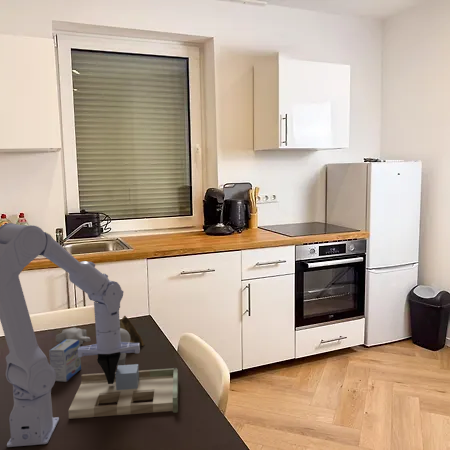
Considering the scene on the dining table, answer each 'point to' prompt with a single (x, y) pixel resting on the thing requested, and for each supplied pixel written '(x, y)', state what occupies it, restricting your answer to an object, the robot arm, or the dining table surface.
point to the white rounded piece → (73, 335)
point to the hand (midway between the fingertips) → (111, 382)
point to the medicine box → (65, 359)
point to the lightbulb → (124, 338)
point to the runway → (126, 395)
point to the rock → (131, 331)
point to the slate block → (127, 377)
